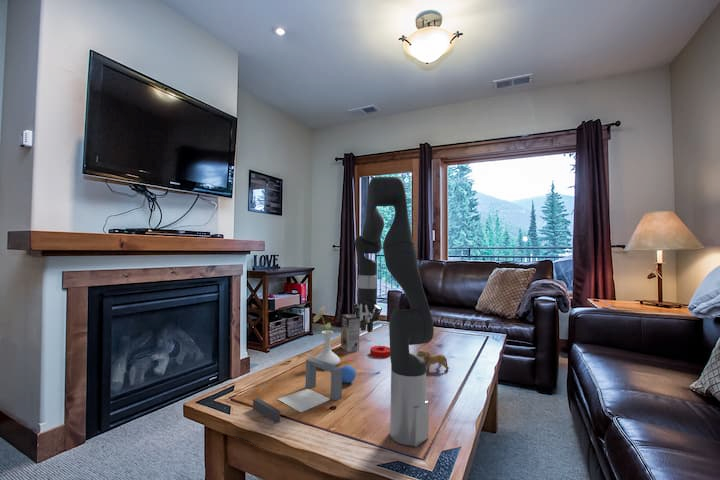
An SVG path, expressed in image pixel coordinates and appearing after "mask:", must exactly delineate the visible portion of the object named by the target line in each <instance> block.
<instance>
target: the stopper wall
mask: <svg viewBox="0 0 720 480" xmlns="http://www.w3.org/2000/svg"><path fill="white" fill-rule="evenodd" d="M252 409H253V410H254V409H255V410H256V411H255V410H254V411H255V412H257V413H258V412H259V413H258V414H259V415H261V414H262V415H261V416H263V415H264V416H263V417H265V418H266V417H267V418H266V419H268V418H269V419H270V420H269V419H268V420H269V421H271V420H272V421H273V422H272V421H271V422H272V423H274V422H275V423H274V424H277V423H276V422H278V423H280V422H281V410H280V409H278V408H277V407H276V406H275V407H274V405H271V404H270V403H268V402H267V401H265V400H263V399H261V398H259V397H255V398H253V400H252ZM279 421H280V422H279Z"/></svg>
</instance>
